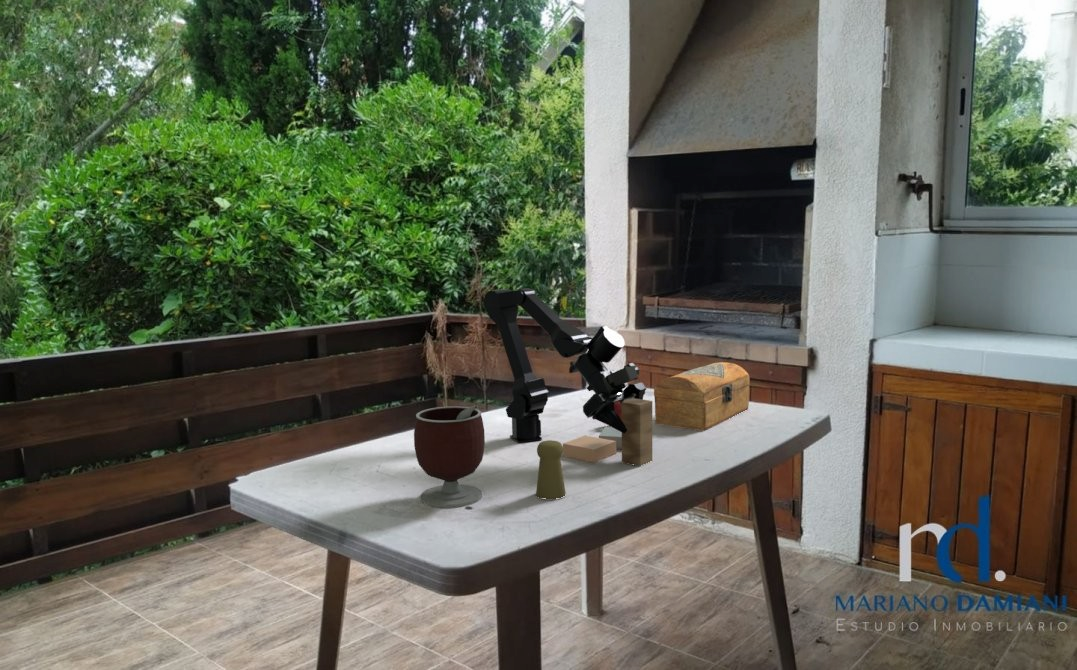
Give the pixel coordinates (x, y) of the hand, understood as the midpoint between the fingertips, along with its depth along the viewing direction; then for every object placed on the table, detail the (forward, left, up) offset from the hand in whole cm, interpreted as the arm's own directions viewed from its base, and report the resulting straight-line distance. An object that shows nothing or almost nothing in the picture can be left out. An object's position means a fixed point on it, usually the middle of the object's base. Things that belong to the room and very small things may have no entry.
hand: (637, 427), depth 177 cm
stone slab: (+4, +15, -8) cm, 17 cm away
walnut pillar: (0, 0, -8) cm, 8 cm away
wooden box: (+39, +29, -8) cm, 50 cm away
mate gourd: (-45, -5, -8) cm, 46 cm away
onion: (+12, +30, -8) cm, 33 cm away
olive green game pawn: (-27, -12, -8) cm, 31 cm away
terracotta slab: (-7, +10, -8) cm, 15 cm away
